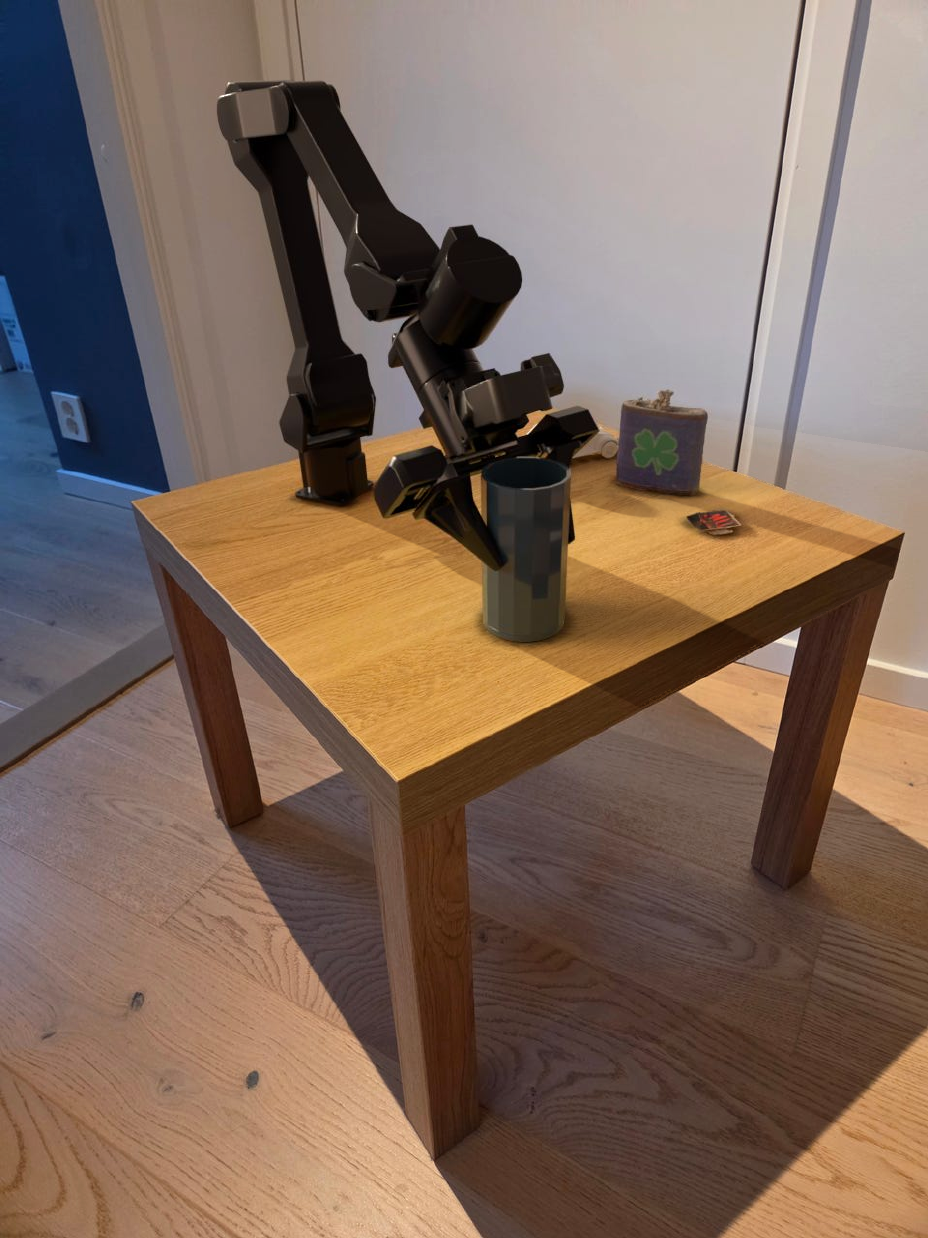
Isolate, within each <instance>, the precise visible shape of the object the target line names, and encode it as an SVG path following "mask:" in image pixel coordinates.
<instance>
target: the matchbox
mask: <svg viewBox="0 0 928 1238" xmlns="http://www.w3.org/2000/svg"><path fill="white" fill-rule="evenodd" d="M686 519H687V521H689V524H691V525H692V526H693V527H695V528H696V529H697V530H700V531H701V532H703V531H707V532H708V533H709V534H710V535H714V536H717V535H718V536H721V535H725V534H732V532H733V530H732V529H730V528H732V527H738V526H742V524H741V523H740V522H739V521H738V519H736V518H735V514H732V513H731V512H729V511H728V510H726V509H724V508H722V509H716V510H709V511H705V512H704V511H703V512H700V511H699V512H696V513H693V514H691V515H686Z"/></svg>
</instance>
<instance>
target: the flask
mask: <svg viewBox="0 0 928 1238" xmlns="http://www.w3.org/2000/svg"><path fill="white" fill-rule="evenodd" d="M656 395H657V396H658V397H657V398H656V399H653V400H650V399H648V398H645V400H643V397H642V396H640V397H638V398H637V399H628V400H624V402H622V404H621V409H620V420H619V433H618V438H619V445H618V446H617V453H616V454H617V457H616V469H615V470H616V473H615V482H616V484H618V485H619V486H622V487H625V488H631V489H635V490H639V491H647V492H655V493H658V494H659V493H660V494H666V495H676V496H680V497H682V496H688V497H690V496H691V497H693V496H696V495H697V494H698V492H699V490H700V483H701V473H702V465H703V454H704V446H705V438H706V429H707V424H708V419H709V416H708V415H709V414H708V412H707V411H706V410H705V409H704V408H699V407H684V406H674V405H671V397H672V396H673V395H674V390H670V389H665V390H662V389H661V390H658V391H657V392H656Z"/></svg>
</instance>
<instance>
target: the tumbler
mask: <svg viewBox="0 0 928 1238" xmlns="http://www.w3.org/2000/svg"><path fill="white" fill-rule="evenodd" d="M571 487H572V470H571V468H570V469H569V468H568V467H567V466H566V465H565V464H563V463H560V462H557V461H555V460H552V459H547V458H541V457H512V458H504V459H500V460H497V461H494V462H491V463H489V464H488V465H487V466H485V467H484V468H483V469H482V472H481V474H480V512H481V513H480V514H481V516H482V518H483V520H484V522H485V524H486V526H487V528H488V530H489V532H490V534H491V536H492V538H493V540H494V542H495V544H496V546H497V548H498V550H499V553H500V556H501V558H502V561H503V564H504V566H503V567H502V568H501V569H500V570H498V571H493V570H492V569H491V568H490V567H489V566H487V565H486V564H485V563H484V562H482V561H481V591H482V594H481V595H482V596H481V597H482V598H481V599H482V600H481V601H482V602H481V603H482V622H483V625H484V628H485V629H486V630H487V631H488V632H489V633H491V634H492V635H494V636H495V637H498V638H500V639H502V640H506V641H510V642H516V643H518V642H519V643H530V642H539V641H543V640H547V639H549V638H551V637H553V636H555V635H557V634H558V633H559V632H560V631H561V630H562V629H563V627H564V625H565V618H566V617H565V616H566V597H567V595H566V594H567V578H568V577H567V575H568V555H569V553H568V552H569V544H568V534H569V513H570V499H571V490H572V488H571Z"/></svg>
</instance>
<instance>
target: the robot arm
mask: <svg viewBox="0 0 928 1238" xmlns="http://www.w3.org/2000/svg"><path fill="white" fill-rule="evenodd" d="M216 117H217V123H218V127H219V130H220V132H221V135H222V137H223V139H224V140H225V141H226V142H227V146H228V149H229V152H230V155H231V158H232V161H233V164H234V166H235V167H236V169H238V171H239V172H240V173H241V174H242V176H243V177H244V178H245V179H246V181H248V183H249V184H250V185H251V186H252V187H253V189H255V191H256V192H257V193H258V197H259V201H260V205H261V209H262V210H261V211H262V214H263V217H264V221H265V226H266V230H267V234H268V240H269V242H270V247H271V252H272V255H273V260H274V263H275V268H276V272H277V276H278V281H279V285H280V290H281V294H282V298H283V301H284V307H285V311H286V314H287V315H286V316H287V319H288V323H289V328H290V331H291V336H292V340H293V344H294V351H293V354H292V358H291V361H290V364H289V367H288V371H287V374H286V377H285V378H286V385H287V389H288V390H287V391H288V398H287V400H286V403H285V405H284V408H283V410H282V414H281V416H280V418H279V421H278V424H279V428H280V433H281V436H282V439H283V442H284V444H285V443H286V444H287V445H288V446H290V447H291V448H293V449H295V450H296V451H297V453H298V459H299V466H300V475H301V480H302V481H301V482H302V487H301V488H300V489H298V490H297V491H295V492H294V497H295V498H296V499H302V500H306V501H310V502H311V501H312V502H316V503H321V504H326V505H331V506H337V507H344V506H346V505H347V504H349V503H350V502H352V501H353V500H355V499H357V498H358V497H360V496H361V495H363V494H364V493H365V492H367V491H368V490H369V489H371V488H373V489H372V490H373V499H374V502H375V504H376V507H377V509H378V511H379V512H380V515H381V517H382V519H386V520H388V519H391V518H395V517H398V516H401V515H404V514H407V513H410V512H411V515H412V517H413V519H414V520H415V521H418V520H422V519H423V520H426V522H429V523H430V524H432V525H434V527H437V528H438V529H439V530H441V531H442V532H444V533H445V534H447V535H448V536H449V537H451V538H452V539H454V540H455V541H457V542H458V543H459V544H460V545H462V546H463V547H464V548H465V549H467V550H468V551H469V552H470V553H471V554H472V555H474V556H475V557H476V558H477V559H479V560H480V561H481V563H482V562H484V563H485V564H486V565H487V566H489V567H490V568H491V569H492V570H493V571H498V570H500V569H501V568H502V567H503V566H504V564H503V561H502V558H501V556H500V553H499V550H498V548H497V546H496V544H495V542H494V540H493V538H492V536H491V534H490V532H489V530H488V528H487V526H486V524H485V522H484V520H483V518H482V516H481V513H480V512H481V511H480V510H479V508H478V506H477V504H476V503H475V500H474V495H473V486H472V477H473V476H477V475H481V472H482V469H483V468H484V467H485V466H487V465H488V464H489V463H491V462H494V461H497V460H500V459H504V458H512V457H541V458H547V459H552V460H555V461H557V462H560V463H563V464H565V465H566V466H567V467H568V468H569V469H570V470H571V464H572V460H573V458H572V457H573V456H574V455H575V454H576V453H578V452H579V451H580V450H581V449H582V448H583V447H584V446H585V445H586V444H587V443H588V442H589V441H590V440H591V439H592V438H593V437H594V436H595V435H596V434H597V433H598V432H599V431H600V430H599V428H600V427H599V426H598V424H597V422H596V421H595V419H594V417H593V415H592V412H590V410H589V408H586V407H583V406H581V405H580V406H579V405H575V406H571V407H568V408H564V409H560V410H557V411H552V412H548V413H546V414H545V415H544V416H543V417H542V418H541V419H540V420H539V422H537V423H538V424H537V423H536V424H537V425H536V424H535V425H536V426H535V425H534V426H535V427H534V426H533V427H534V428H533V427H532V428H533V429H532V428H531V429H532V431H531V432H530V433H529V434H527V433H526V434H524V435H521V436H518V435H517V432H518V431H519V430H522V429H524V428H525V427H526V426H527V425H528V424H529V423H530V419H529V417H528V415H530V414H532V413H535V412H539V411H540V412H547V411H550V410H553V403H552V399H551V398H553V397H556V396H559V395H561V394H563V392H564V389H565V383H564V380H563V375H562V371H561V369H560V368H559V366H558V364H557V363H556V361H555V360H554V357H552V355H551V353H550V352H547V353H542V354H538V355H534V356H531V357H530V358H529V359H523V360H522V361H521V362H520V370H517V371H513V372H509V373H504V374H501V373H500V371H498V370H496V368H495V367H492V368H488V369H485V368H484V367H483V364H482V363H481V360H480V358H479V357H478V355H477V353H476V351H475V349H476V348H478V347H481V346H482V345H483V344H484V343H486V341H487V340H488V339H489V337H490V336H491V334H492V333H493V331H494V330H495V328H496V327H497V326H498V324H499V322H501V320H502V319H503V317H504V315H505V314H506V312H507V311H508V309H509V308H510V307H511V305H512V304H513V302H514V301H515V299H516V297H517V296H518V294H519V293H520V291H521V289H522V286H523V274H522V269H521V267H520V264H519V262H518V260H517V258H516V257H515V256H514V255H512V254H510V253H509V252H508V251H507V250H506V249H505V248H504V247H503V246H501V244H499V243H498V242H497V243H496V242H495V241H493V240H491V239H489V238H486V237H483V236H480V235H479V234H478V232H477V230H476V228H475V226H474V224H470V223H469V224H462V225H454V226H449V227H448V229H447V231H446V232H445V234H444V237H443V239H442V243H441V246H440V247H439V245H438V244H437V243H436V241H435V240H434V239H433V238H432V236H431V235H430V234H429V232H428V231H427V230H426V228H425V227H424V226H423V225H422V223H421V222H419V221H418V220H415V219H414V218H412V217H410V216H408V215H407V214H405V213H404V212H403V211H400V210H399V209H398V208H397V207H396V206H395V204H394V203H393V202H392V200H391V199H390V197H389V194H388V193H387V191H386V189H385V188H384V186H383V184H382V183H381V181H380V179H379V177H378V175H377V173H376V171H375V169H374V168H373V166H372V164H371V162H370V161H369V159H368V158H367V155H366V154H365V152H364V150H363V148H362V146H361V145H360V143H359V141H358V139H357V137H356V136H355V134H354V132H353V130H352V129H351V127H350V125H349V123H348V121H347V120H346V118H345V116H344V114H343V113H342V109H341V102H340V97H339V94H338V92H337V89H336V88H335V87H334V85H333V84H331V83H327V82H325V81H324V80H321V79H320V80H294V79H272V80H271V79H266V80H264V79H263V80H261V79H260V80H232V81H229V82H228V83H227V85H226V87H225V90H224V95H223V94H222V95H220V96H219V97H218V98H217V102H216ZM309 179H310V180H311V181H312V183H313V186H314V188H315V190H316V191H317V193H318V195H319V197H320V199H321V201H322V203H323V205H324V206H325V208H326V210H327V212H328V215H330V218H331V219H332V221H333V223H334V225H335V227H336V229H337V230H338V233H339V234H340V236H341V239H342V241H343V243H344V245H345V248H346V249H345V250H346V252H345V259H344V266H343V275H344V277H345V279H346V281H347V284H348V286H349V292H350V297H351V298H352V301H353V303H354V305H355V306H356V308H358V310H359V312H360V313H361V314H362V316H363V317H364V318H365V319H366V320H367V321H369V322H375V323H384V322H389V321H395V320H396V321H397V320H401V319H405V318H407V319H406V320H404V321H403V323H402V324H401V326H400V328H399V329H398V332H395V333H394V332H393V333H392V334H391V346H390V349H389V350H388V353H387V365H388V368H390V369H395V368H400V367H402V368H403V371H404V372H405V374H406V377H407V378H408V381H409V383H410V384H411V386H412V389H413V391H414V392H415V394H416V397H417V399H418V400H419V403H420V405H421V407H422V409H423V410H422V413H420V416H418V421H419V422H420V424H421V426H422V429H423V430H426V429H430V428H432V430H433V432H434V433H435V436H436V438H437V440H438V442H439V444H440V446H441V448H442V449H440V448H438V447H436V446H434V445H428V446H424V447H421V448H417V449H413V450H409V451H406V452H402V453H399V454H394V455H392V457H391V458H390V460H389V461H388V463H387V464H386V466H385V468H384V469H383V471H382V472H381V474H380V476H379V477H378V479H377V480H376V482H375V484H374V481H373V480H370V479H368V470H367V460H366V453H365V452H364V451H363V448H362V439H361V438H363V437H364V438H365V437H371V436H373V435H374V427H375V425H374V424H375V415H376V405H377V396H376V393H375V390H374V388H373V385H372V383H371V379H370V373H369V367H368V361H367V359H366V358H365V356H364V355H363V354H362V353H361V352H359V353H355V351H354V350H353V349H352V348H351V347H350V346H349V344H347V342H346V341H344V339H343V335H342V332H341V326H340V321H339V318H338V313H337V308H336V304H335V299H334V295H333V291H332V285H331V282H330V281H331V280H330V277H329V272H328V268H327V263H326V259H325V254H324V253H325V252H324V249H323V245H322V240H321V236H320V231H319V226H318V222H317V217H316V212H315V208H314V203H313V199H312V195H311V189H310V185H309V184H310V183H309ZM598 427H599V428H598ZM442 450H443V451H442ZM573 516H574V515H573V507H572V499H571V498H570V513H569V534H568V545H570V544H572V543H573V542H574V541H575V540H576V533H575V526H574V525H575V524H574V517H573Z"/></svg>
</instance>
